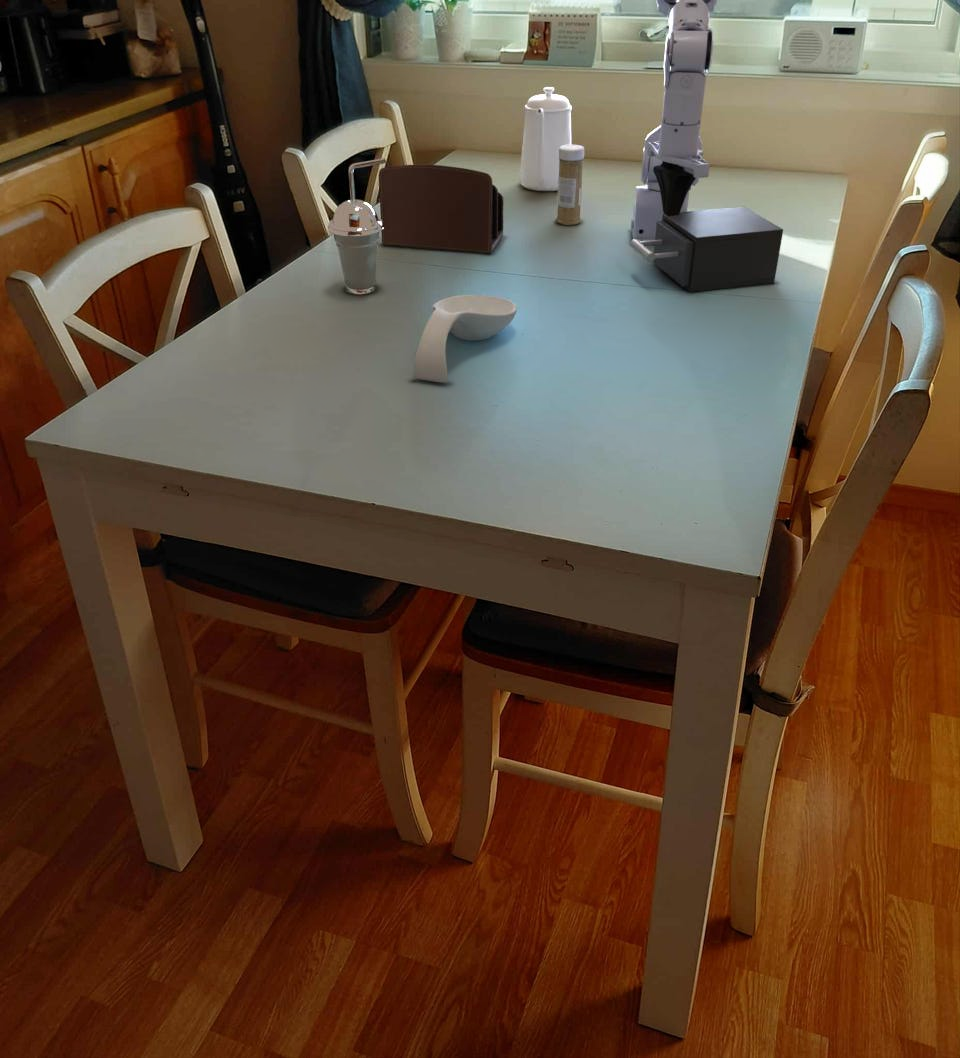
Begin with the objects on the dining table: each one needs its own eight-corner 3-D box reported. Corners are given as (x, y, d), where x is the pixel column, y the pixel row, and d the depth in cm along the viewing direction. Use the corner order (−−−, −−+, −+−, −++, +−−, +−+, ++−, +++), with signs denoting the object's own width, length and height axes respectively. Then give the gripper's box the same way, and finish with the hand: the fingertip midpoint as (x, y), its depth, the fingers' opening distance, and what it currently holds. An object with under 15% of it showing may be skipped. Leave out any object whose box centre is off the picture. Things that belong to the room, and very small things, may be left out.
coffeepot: (508, 201, 193) (510, 99, 182) (529, 169, 213) (531, 75, 202) (563, 204, 191) (567, 101, 180) (578, 171, 211) (583, 77, 201)
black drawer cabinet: (689, 292, 152) (696, 237, 148) (657, 265, 162) (662, 213, 158) (774, 283, 155) (783, 229, 151) (737, 257, 166) (744, 206, 161)
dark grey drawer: (650, 289, 151) (654, 246, 147) (622, 265, 160) (625, 223, 156) (760, 277, 155) (767, 235, 151) (727, 254, 164) (732, 214, 160)
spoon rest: (450, 312, 146) (449, 265, 142) (526, 321, 143) (527, 273, 139) (389, 378, 128) (386, 326, 124) (474, 390, 125) (474, 337, 121)
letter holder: (491, 254, 167) (491, 169, 159) (381, 246, 171) (375, 163, 163) (503, 236, 175) (504, 154, 167) (398, 229, 179) (393, 148, 171)
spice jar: (585, 222, 182) (589, 146, 174) (569, 227, 179) (572, 151, 172) (567, 216, 185) (570, 142, 177) (550, 222, 182) (553, 146, 174)
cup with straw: (355, 276, 159) (345, 147, 148) (401, 286, 155) (394, 155, 144) (322, 292, 153) (309, 160, 142) (369, 303, 149) (359, 168, 138)
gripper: (732, 129, 139) (719, 224, 147) (678, 109, 150) (669, 199, 158) (689, 133, 137) (678, 230, 145) (638, 113, 148) (631, 204, 156)
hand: (671, 214), depth 151 cm, fingers closed
